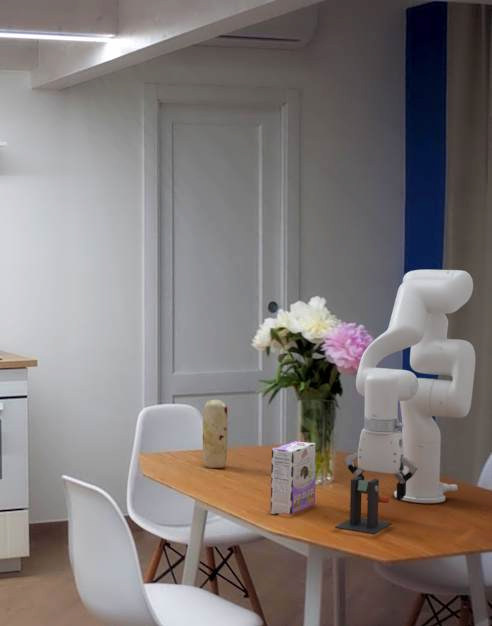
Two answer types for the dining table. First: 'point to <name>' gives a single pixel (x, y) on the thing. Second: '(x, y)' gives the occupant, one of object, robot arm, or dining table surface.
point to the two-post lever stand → (371, 523)
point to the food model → (215, 434)
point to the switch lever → (364, 489)
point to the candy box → (293, 477)
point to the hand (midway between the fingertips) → (380, 495)
